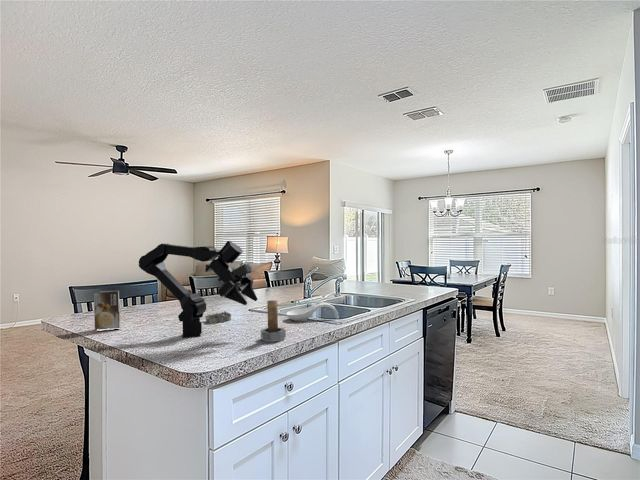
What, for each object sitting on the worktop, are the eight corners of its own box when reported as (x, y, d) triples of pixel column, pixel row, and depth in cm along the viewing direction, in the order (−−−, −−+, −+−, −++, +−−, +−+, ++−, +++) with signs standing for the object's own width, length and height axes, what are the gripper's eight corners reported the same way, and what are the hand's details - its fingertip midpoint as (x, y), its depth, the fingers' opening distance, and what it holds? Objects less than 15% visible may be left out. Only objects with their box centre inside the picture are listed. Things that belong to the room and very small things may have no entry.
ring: (263, 343, 132) (263, 333, 132) (259, 337, 140) (259, 328, 140) (287, 340, 134) (287, 331, 134) (281, 335, 142) (281, 326, 142)
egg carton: (210, 324, 165) (210, 315, 165) (204, 322, 171) (203, 313, 171) (233, 320, 172) (232, 311, 172) (226, 318, 178) (225, 309, 178)
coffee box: (120, 327, 163) (120, 289, 163) (119, 330, 157) (119, 291, 157) (96, 329, 159) (95, 291, 159) (94, 332, 153) (93, 293, 153)
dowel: (271, 338, 134) (271, 302, 135) (266, 336, 137) (265, 301, 137) (280, 336, 137) (279, 300, 137) (274, 335, 140) (273, 299, 140)
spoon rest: (286, 323, 164) (286, 307, 164) (285, 318, 176) (285, 302, 176) (340, 321, 167) (339, 304, 167) (336, 316, 179) (335, 300, 179)
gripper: (225, 257, 131) (255, 290, 129) (248, 255, 150) (275, 284, 147) (205, 280, 133) (234, 312, 131) (230, 275, 151) (256, 303, 149)
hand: (251, 302), depth 139 cm, fingers open, 9 cm apart
